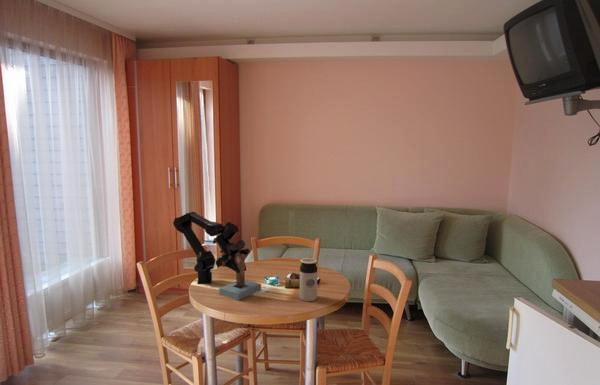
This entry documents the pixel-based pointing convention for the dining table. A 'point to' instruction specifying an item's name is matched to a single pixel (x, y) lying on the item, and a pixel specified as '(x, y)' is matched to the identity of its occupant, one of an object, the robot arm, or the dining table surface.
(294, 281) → the gavel
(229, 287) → the socket board
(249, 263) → the dining table surface
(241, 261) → the peg
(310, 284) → the travel mug
